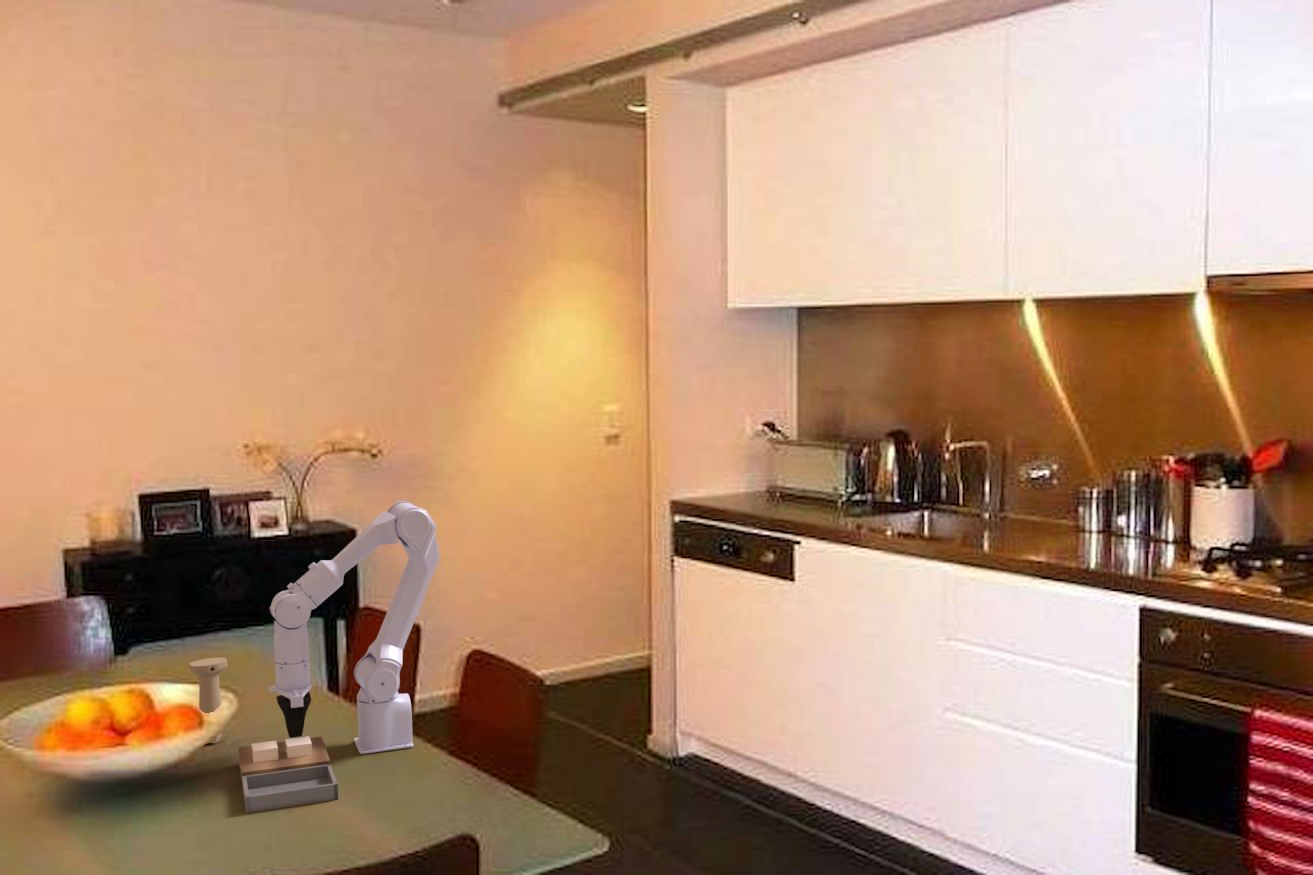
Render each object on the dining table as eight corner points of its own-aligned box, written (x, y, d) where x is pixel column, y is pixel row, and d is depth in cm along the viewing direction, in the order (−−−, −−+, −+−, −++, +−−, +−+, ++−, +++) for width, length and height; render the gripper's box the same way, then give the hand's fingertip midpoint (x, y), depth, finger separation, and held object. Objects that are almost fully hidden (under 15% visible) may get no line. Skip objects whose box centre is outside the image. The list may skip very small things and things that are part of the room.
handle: (234, 741, 224) (230, 661, 222) (198, 749, 220) (194, 667, 218) (225, 734, 228) (221, 655, 226) (190, 742, 224) (186, 662, 222)
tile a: (309, 747, 211) (309, 735, 211) (312, 754, 208) (311, 743, 208) (285, 750, 210) (285, 739, 210) (287, 758, 206) (287, 746, 206)
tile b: (276, 751, 209) (276, 740, 209) (278, 759, 206) (277, 747, 206) (252, 754, 208) (251, 743, 208) (253, 762, 204) (252, 751, 204)
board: (322, 752, 217) (321, 736, 217) (330, 777, 205) (330, 760, 205) (238, 764, 212) (238, 747, 212) (242, 790, 200) (241, 772, 200)
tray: (331, 778, 205) (330, 763, 205) (338, 799, 196) (337, 784, 196) (242, 790, 200) (242, 776, 200) (246, 812, 191) (245, 797, 191)
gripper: (265, 652, 218) (268, 726, 220) (270, 673, 205) (274, 752, 206) (306, 647, 221) (309, 721, 222) (314, 668, 207) (317, 746, 209)
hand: (295, 735), depth 214 cm, fingers closed
